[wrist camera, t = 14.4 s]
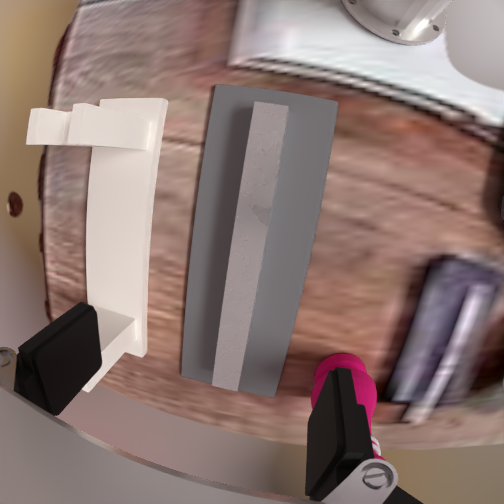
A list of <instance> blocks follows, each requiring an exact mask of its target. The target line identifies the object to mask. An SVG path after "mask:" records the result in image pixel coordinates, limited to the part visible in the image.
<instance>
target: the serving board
mask: <svg viewBox="0 0 504 504" xmlns="http://www.w3.org/2000/svg"><path fill="white" fill-rule="evenodd" d="M498 206H499V209H500V210H501V216H502V219H503V221H504V195H502V196H501V197H500V198H499V200H498Z"/></svg>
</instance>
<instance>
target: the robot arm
mask: <svg viewBox="0 0 504 504" xmlns="http://www.w3.org/2000/svg"><path fill="white" fill-rule="evenodd" d="M451 1H453V0H342V2H343V4H344V6H345V7H346V9H347V10H348V12H349V13H350V14H351V15H352V16H353V17H354V18H355V19H356V20H357V21H358V22H359V23H360V24H361V25H363V26H364V27H365V28H367V29H368V30H370V31H371V32H373V33H374V34H376V35H378V36H380V37H382V38H384V39H387V40H390V41H393V42H396V43H400V44H405V45H421V44H426V43H429V42H431V41H433V40H434V39H436V38H437V37H438V36H439V35H440V34H441V33H442V32H443V30H444V28H445V25H446V11H445V8H446V7H447V6H448V4H450V3H451ZM393 34H394V35H393ZM18 349H19V353H18V354H16V353H15V351H14V350H12V349H11V348H8V347H0V504H423V503H421V502H420V501H418V500H417V499H415V498H414V497H412V496H411V495H410V494H408V493H407V492H405V491H404V490H402V489H401V488H400V487H398V486H397V483H398V474H397V471H396V470H395V468H394V467H393V466H392V465H391V464H390V463H388V462H386V461H384V460H380V459H375V458H374V452H373V446H372V440H371V434H370V429H369V423H368V418H367V413H366V408H365V406H364V405H363V404H357V399H356V393H355V388H354V382H353V377H352V372H351V369H348V368H341V367H335V368H334V370H329V372H328V374H327V376H326V379H325V381H324V384H323V386H322V389H321V391H320V394H319V396H318V399H317V401H316V403H315V406H314V408H313V410H312V413H311V415H310V417H309V421H308V432H307V463H306V464H307V465H306V484H305V485H306V486H305V495H306V496H310V500H307V499H302V498H296V497H290V496H284V495H278V494H271V493H266V492H260V491H255V490H250V489H245V488H240V487H236V486H231V485H227V484H222V483H218V482H214V481H210V480H207V479H203V478H199V477H196V476H192V475H189V474H186V473H182V472H179V471H176V470H173V469H170V468H167V467H164V466H161V465H158V464H155V463H153V462H150V461H147V460H145V459H142V458H140V457H137V456H135V455H132V454H130V453H127V452H125V451H122V450H120V449H118V448H116V447H113V446H111V445H109V444H107V443H105V442H102V441H100V440H98V439H96V438H94V437H92V436H90V435H88V434H86V433H84V432H82V431H80V430H78V429H76V428H74V427H73V426H71V425H69V424H67V423H65V422H64V421H62V420H60V419H58V418H57V417H55V415H56V416H57V415H59V414H60V413H61V412H62V411H63V410H64V408H65V407H66V406H67V405H68V404H69V403H70V402H71V400H72V399H73V398H74V397H75V396H76V395H77V394H78V392H80V390H81V389H82V388H83V387H84V386H85V385H86V384H87V383H88V382H89V380H90V379H91V378H92V377H93V376H94V375H95V374H96V373H97V372H98V371H99V369H100V368H101V366H102V355H101V347H100V338H99V328H98V317H97V312H96V311H95V309H94V307H93V306H91V305H89V304H86V303H83V302H80V303H78V304H77V305H76V306H74V307H73V308H71V309H70V310H69V311H67V312H66V313H64V314H63V315H62V316H60V317H59V318H57V319H56V320H55V321H53V322H52V323H50V324H49V325H48V326H46V327H45V328H44V329H42V330H41V331H40V332H38V333H37V334H36V335H34V336H33V337H32V338H30V339H29V340H28V341H26V342H25V343H24V344H22V345H21V346H20V347H18Z"/></svg>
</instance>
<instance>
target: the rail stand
mask: <svg viewBox="0 0 504 504" xmlns="http://www.w3.org/2000/svg"><path fill="white" fill-rule="evenodd" d="M167 106H168V101H167V100H165V99H163V98H120V99H100V104H99V106H95V105H91V104H87V103H81V104H74V105H73V110H72V112H63V111H57V110H51V109H45V108H35V109H31V114H30V119H29V126H28V133H27V141H26V144H27V145H68V146H89V147H93V148H92V156H91V165H90V175H89V187H88V201H87V223H86V275H87V297H88V304H89V305H91V306H93V307H94V309H95V311H96V312H97V317H98V328H99V338H100V347H101V355H102V366H101V368H100V369H99V371H98V372H97V373H96V374H95V375H94V376H93V377H92V378H91V379H90V380H89V382H88V383H87V384H86V385H85V386H84V387H83V388H82V390H85V391H86V392H90V391H91V390H92V388H93V387H94V386H95V385H96V384H97V383H98V382H99V380H100V379H101V378H102V377H103V376H104V375H105V374H106V373H107V371H108V370H109V369H110V368H111V367H112V366H113V365H114V364H115V363H116V361H117V360H118V359H119V358H120V357H121V356H122V355H123V354H124V353H125V352H127V353H130V354H133V355H136V356H139V357H143V356H144V355H145V354H146V352H147V296H148V270H149V253H150V238H151V225H152V214H153V204H154V195H155V186H156V177H157V170H158V162H159V155H160V148H161V142H162V135H163V129H164V123H165V117H166V112H167Z"/></svg>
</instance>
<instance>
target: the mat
mask: <svg viewBox="0 0 504 504" xmlns="http://www.w3.org/2000/svg"><path fill="white" fill-rule="evenodd" d="M255 101H257V102H264V103H271V104H278V105H285V106H289V116H288V122H287V128H286V134H285V140H284V146H283V152H282V157H281V163H280V169H279V175H278V181H277V186H276V192H275V198H274V203H273V209H272V215H271V220H270V226H269V232H268V237H267V243H266V248H265V254H264V259H263V265H262V270H261V276H260V281H259V286H258V292H257V297H256V303H255V308H254V313H253V319H252V324H251V329H250V334H249V340H248V345H247V350H246V355H245V360H244V366H243V371H242V376H241V380H240V384H239V387H238V391H243V392H247V393H252V394H257V395H263V396H268V397H273V398H274V397H275V394H276V390H277V387H278V383H279V380H280V376H281V372H282V369H283V365H284V362H285V358H286V354H287V350H288V347H289V343H290V339H291V335H292V331H293V327H294V324H295V320H296V316H297V312H298V307H299V303H300V299H301V295H302V291H303V287H304V282H305V278H306V274H307V269H308V265H309V260H310V256H311V251H312V247H313V242H314V237H315V232H316V228H317V223H318V218H319V213H320V208H321V202H322V197H323V192H324V187H325V181H326V176H327V170H328V164H329V159H330V153H331V147H332V141H333V134H334V128H335V122H336V115H337V108H338V102H337V101H332V100H328V99H323V98H318V97H313V96H307V95H302V94H296V93H289V92H283V91H276V90H269V89H261V88H252V87H243V86H232V85H219V84H216V87H215V92H214V97H213V103H212V108H211V114H210V119H209V125H208V131H207V137H206V143H205V149H204V156H203V162H202V169H201V176H200V183H199V190H198V197H197V205H196V212H195V221H194V229H193V237H192V246H191V256H190V265H189V275H188V286H187V297H186V309H185V323H184V337H183V353H182V372H181V376H182V377H186V378H189V379H193V380H197V381H201V382H204V383H208V384H212V380H213V372H214V364H215V357H216V349H217V342H218V334H219V327H220V319H221V312H222V305H223V298H224V291H225V284H226V277H227V270H228V263H229V256H230V250H231V243H232V236H233V230H234V223H235V217H236V210H237V204H238V198H239V191H240V185H241V179H242V173H243V167H244V161H245V155H246V149H247V143H248V137H249V131H250V125H251V119H252V114H253V108H254V102H255Z"/></svg>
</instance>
